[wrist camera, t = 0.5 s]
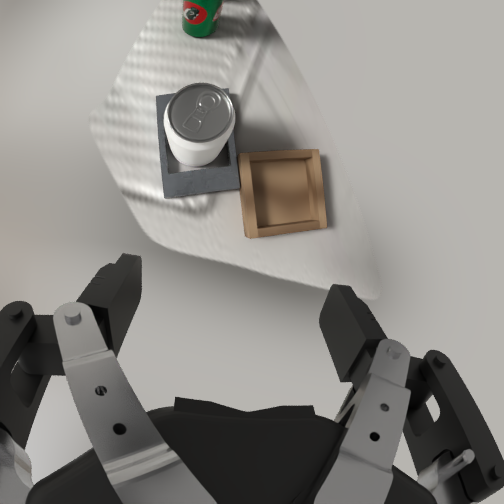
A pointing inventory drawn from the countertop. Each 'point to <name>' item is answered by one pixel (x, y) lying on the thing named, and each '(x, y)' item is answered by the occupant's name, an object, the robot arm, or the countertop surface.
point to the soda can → (201, 16)
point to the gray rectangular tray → (197, 178)
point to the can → (198, 123)
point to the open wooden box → (281, 192)
